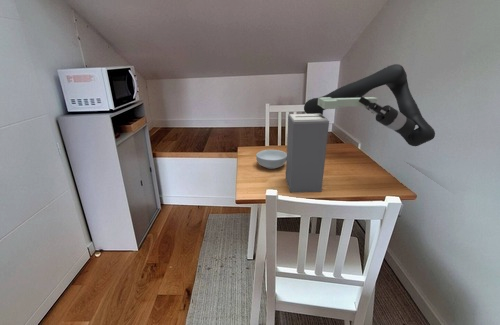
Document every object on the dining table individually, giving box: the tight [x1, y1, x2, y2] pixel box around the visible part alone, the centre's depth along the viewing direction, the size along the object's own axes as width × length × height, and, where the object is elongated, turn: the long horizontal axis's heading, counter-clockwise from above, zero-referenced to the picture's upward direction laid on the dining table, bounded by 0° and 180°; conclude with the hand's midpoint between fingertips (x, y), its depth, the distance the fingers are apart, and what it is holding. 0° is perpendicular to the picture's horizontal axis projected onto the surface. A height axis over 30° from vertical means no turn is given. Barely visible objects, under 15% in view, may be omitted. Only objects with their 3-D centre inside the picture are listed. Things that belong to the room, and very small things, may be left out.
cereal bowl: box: [255, 149, 287, 170], centre depth 133 cm, size 17×17×7 cm
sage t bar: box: [317, 96, 379, 110], centre depth 99 cm, size 22×10×3 cm, turn 90°
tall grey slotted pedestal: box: [285, 113, 330, 194], centre depth 107 cm, size 14×14×32 cm
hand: (358, 98), depth 98 cm, fingers closed on sage t bar, 3 cm apart
